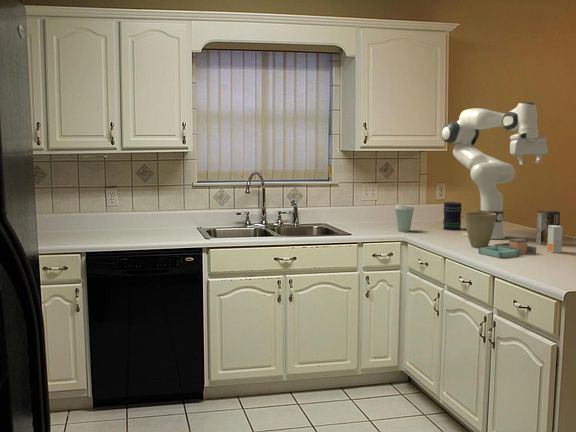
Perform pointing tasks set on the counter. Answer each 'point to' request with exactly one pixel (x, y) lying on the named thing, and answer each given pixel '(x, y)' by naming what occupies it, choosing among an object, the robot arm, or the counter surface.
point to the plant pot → (479, 227)
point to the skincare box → (554, 239)
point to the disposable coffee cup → (404, 217)
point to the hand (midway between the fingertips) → (529, 164)
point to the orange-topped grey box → (519, 244)
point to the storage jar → (452, 216)
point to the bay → (506, 245)
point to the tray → (498, 252)
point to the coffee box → (546, 224)
